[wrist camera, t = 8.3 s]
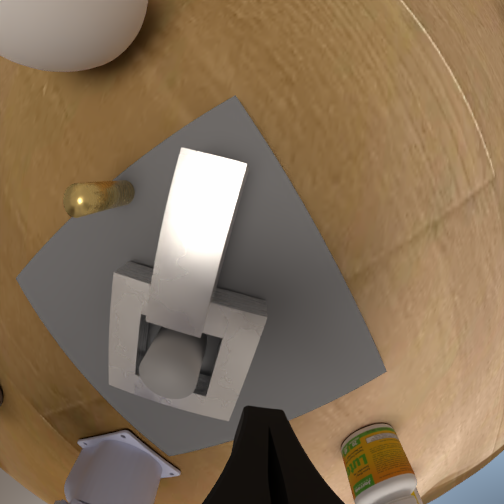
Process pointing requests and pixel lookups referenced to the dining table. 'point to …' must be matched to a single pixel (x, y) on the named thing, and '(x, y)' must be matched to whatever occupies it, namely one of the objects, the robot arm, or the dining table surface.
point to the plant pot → (0, 398)
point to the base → (231, 278)
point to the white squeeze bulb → (68, 32)
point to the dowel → (97, 197)
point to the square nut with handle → (189, 288)
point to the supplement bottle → (378, 467)
